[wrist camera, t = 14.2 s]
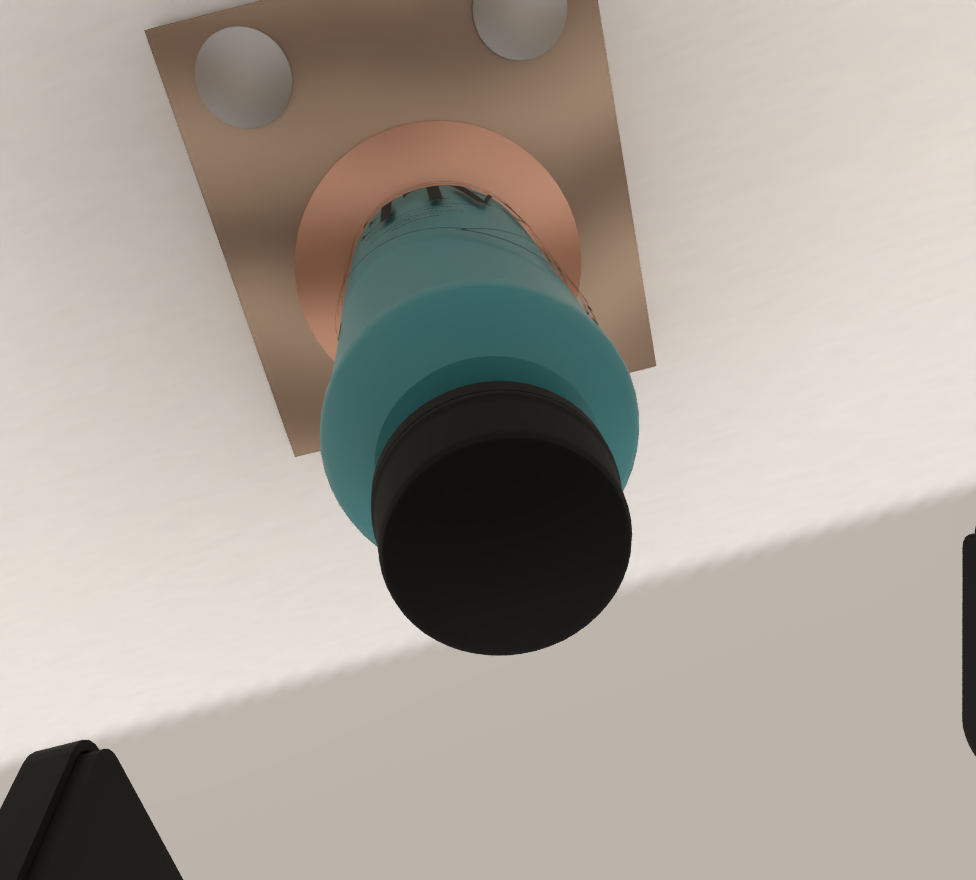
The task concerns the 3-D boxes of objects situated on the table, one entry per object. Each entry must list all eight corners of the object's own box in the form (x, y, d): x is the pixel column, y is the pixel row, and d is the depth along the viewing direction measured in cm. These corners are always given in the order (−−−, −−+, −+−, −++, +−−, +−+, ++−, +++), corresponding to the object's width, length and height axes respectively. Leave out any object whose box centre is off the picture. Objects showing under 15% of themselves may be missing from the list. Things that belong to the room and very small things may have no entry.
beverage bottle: (432, 391, 33) (485, 807, 15) (305, 253, 31) (187, 552, 13) (571, 277, 32) (810, 580, 14) (451, 125, 30) (551, 251, 12)
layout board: (155, 30, 29) (143, 30, 28) (575, -75, 29) (585, -82, 28) (298, 441, 35) (294, 459, 34) (645, 353, 36) (657, 367, 34)
